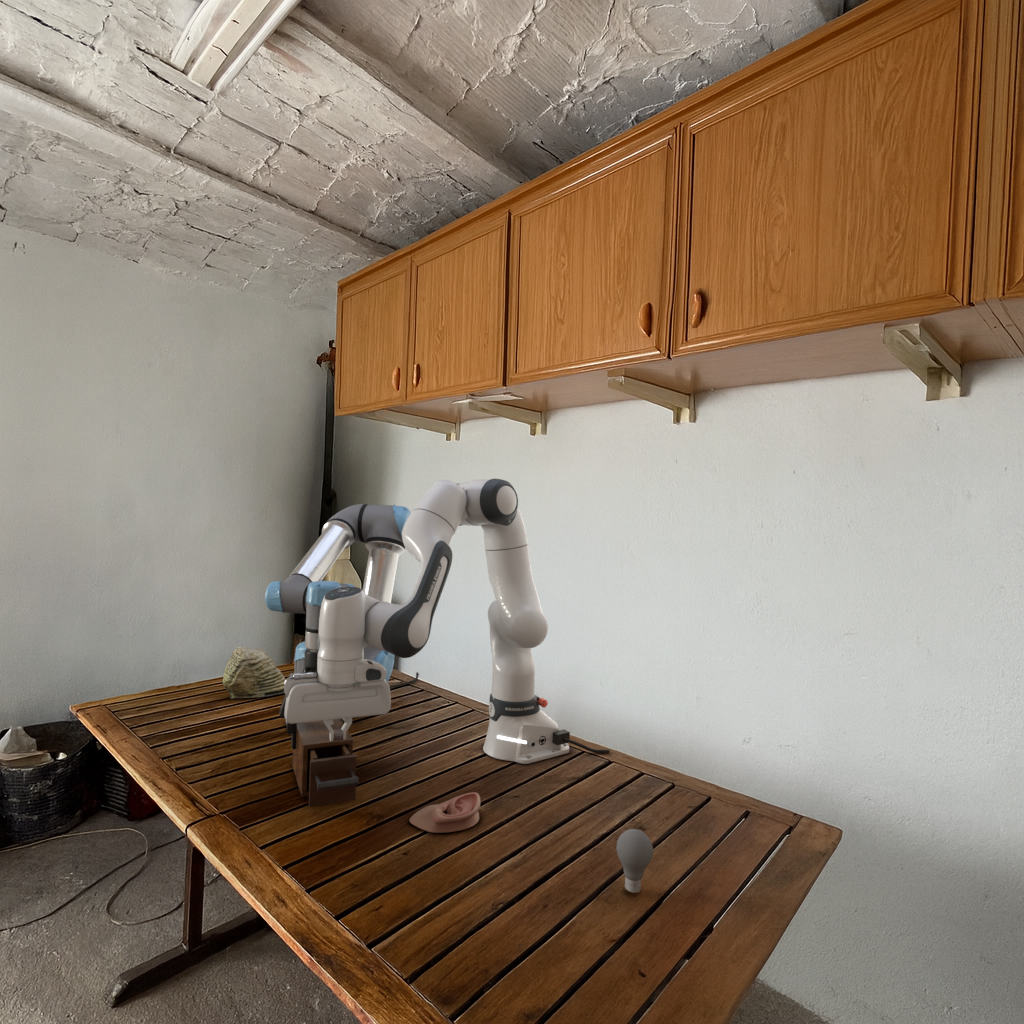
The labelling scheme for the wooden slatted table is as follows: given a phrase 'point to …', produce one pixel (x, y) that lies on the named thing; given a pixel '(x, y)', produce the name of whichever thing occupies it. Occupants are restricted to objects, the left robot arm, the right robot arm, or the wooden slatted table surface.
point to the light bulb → (634, 857)
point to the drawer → (331, 775)
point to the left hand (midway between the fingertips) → (318, 744)
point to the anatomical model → (449, 814)
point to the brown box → (310, 738)
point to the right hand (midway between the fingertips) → (337, 739)
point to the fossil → (252, 674)
